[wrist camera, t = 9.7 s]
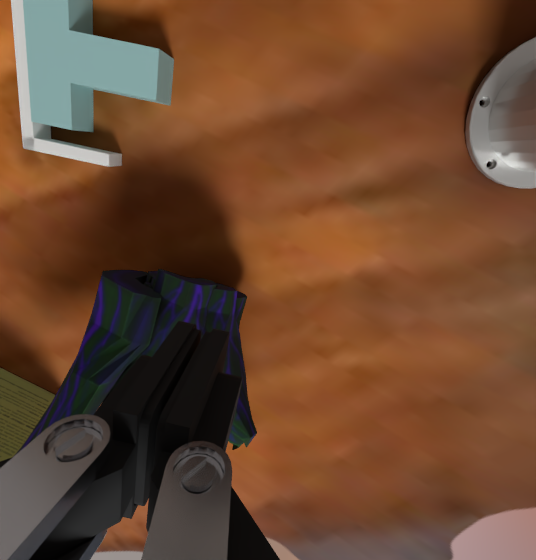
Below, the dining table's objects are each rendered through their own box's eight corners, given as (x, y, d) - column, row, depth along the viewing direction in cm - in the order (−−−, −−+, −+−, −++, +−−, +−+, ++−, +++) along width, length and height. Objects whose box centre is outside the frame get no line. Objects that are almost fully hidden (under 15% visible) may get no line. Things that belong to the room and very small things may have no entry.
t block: (177, 8, 30) (162, -9, 27) (167, 147, 35) (153, 147, 31) (50, -18, 30) (20, -39, 27) (56, 124, 35) (31, 121, 32)
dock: (126, -40, 29) (111, -56, 27) (121, 165, 36) (108, 166, 33) (28, -60, 29) (4, -78, 27) (41, 148, 36) (23, 148, 33)
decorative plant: (259, 275, 49) (203, 456, 52) (57, 223, 38) (4, 456, 41) (338, 324, 30) (243, 601, 33) (-16, 249, 19) (-102, 669, 23)
